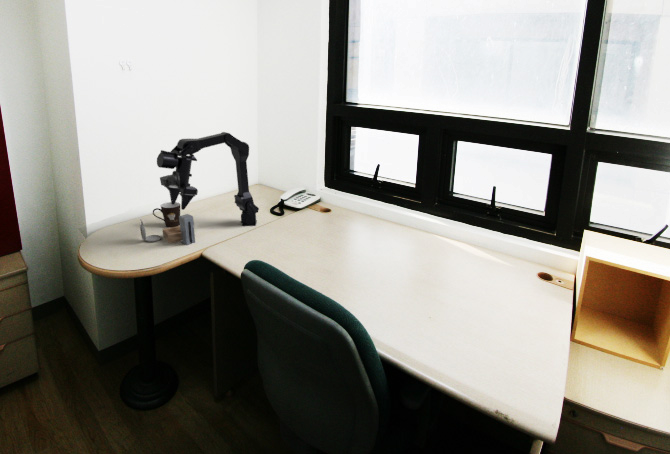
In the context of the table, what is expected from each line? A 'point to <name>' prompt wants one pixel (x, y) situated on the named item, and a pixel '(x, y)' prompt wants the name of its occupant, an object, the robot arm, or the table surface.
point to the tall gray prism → (187, 229)
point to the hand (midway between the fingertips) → (177, 206)
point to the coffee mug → (170, 214)
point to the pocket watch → (148, 238)
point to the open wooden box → (172, 234)
